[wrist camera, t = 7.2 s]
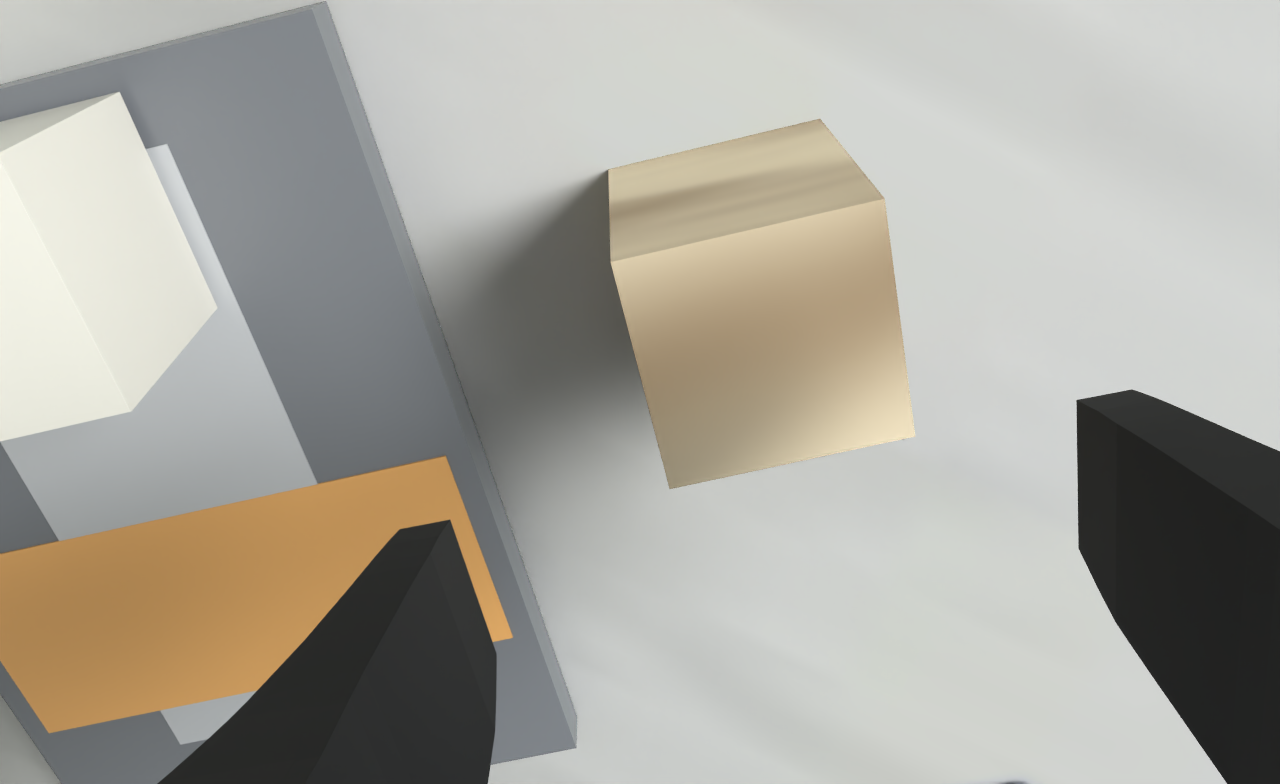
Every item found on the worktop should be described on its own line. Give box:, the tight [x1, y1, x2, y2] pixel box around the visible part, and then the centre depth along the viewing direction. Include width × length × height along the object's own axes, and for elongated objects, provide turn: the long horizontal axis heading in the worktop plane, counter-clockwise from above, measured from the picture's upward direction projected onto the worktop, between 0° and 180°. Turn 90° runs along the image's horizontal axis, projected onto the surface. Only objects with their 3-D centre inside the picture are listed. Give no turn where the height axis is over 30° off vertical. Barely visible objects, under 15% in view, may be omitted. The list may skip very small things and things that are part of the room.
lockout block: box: [608, 119, 915, 489], centre depth 18 cm, size 4×4×5 cm
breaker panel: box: [0, 1, 577, 784], centre depth 22 cm, size 17×12×1 cm
